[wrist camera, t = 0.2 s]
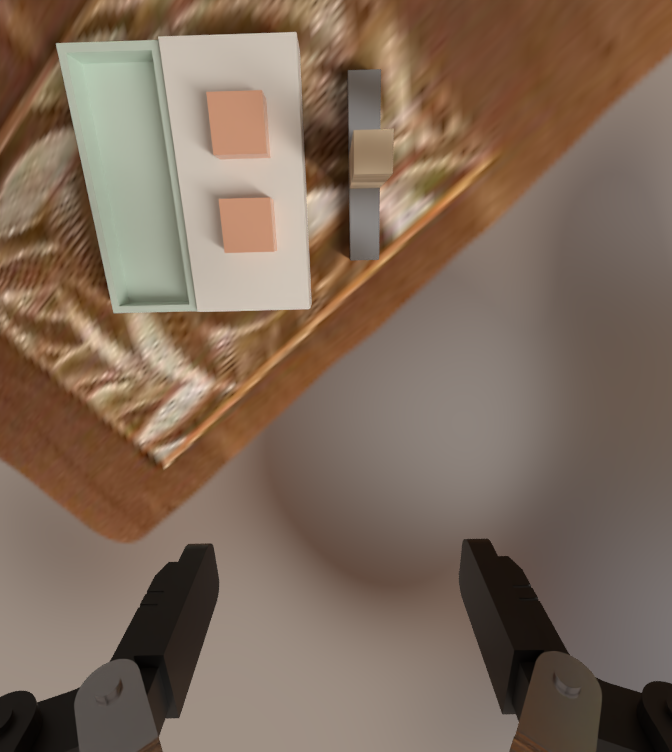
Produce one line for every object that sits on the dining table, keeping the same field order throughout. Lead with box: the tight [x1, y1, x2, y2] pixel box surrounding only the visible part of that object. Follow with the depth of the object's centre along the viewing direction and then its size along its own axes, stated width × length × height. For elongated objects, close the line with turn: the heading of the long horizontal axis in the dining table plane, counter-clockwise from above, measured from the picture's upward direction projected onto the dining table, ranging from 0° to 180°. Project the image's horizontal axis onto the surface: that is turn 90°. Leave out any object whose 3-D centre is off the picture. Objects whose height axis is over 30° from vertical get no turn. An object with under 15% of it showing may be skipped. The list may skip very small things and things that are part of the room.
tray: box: [56, 40, 197, 313], centre depth 34 cm, size 20×8×2 cm, turn 2°
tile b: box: [219, 197, 277, 253], centre depth 32 cm, size 4×4×2 cm
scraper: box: [347, 69, 394, 260], centre depth 30 cm, size 14×2×10 cm, turn 1°
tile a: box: [206, 90, 271, 159], centre depth 30 cm, size 4×4×2 cm
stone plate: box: [158, 32, 312, 312], centre depth 33 cm, size 20×10×3 cm, turn 2°
